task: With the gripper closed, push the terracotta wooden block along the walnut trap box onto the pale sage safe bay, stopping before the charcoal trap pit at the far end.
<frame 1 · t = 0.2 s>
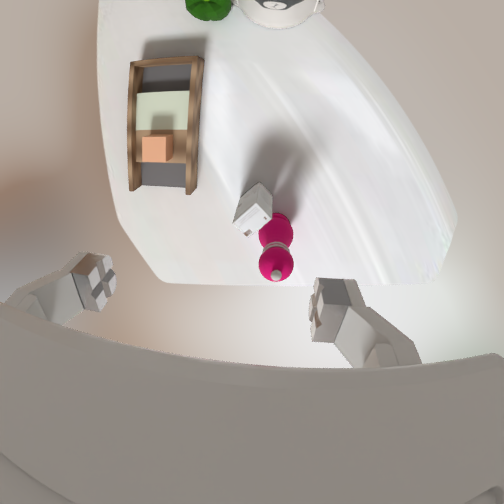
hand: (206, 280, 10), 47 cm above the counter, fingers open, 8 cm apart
pepper mill: (275, 225, 61), on the counter
trap box: (167, 123, 50), on the counter
block: (161, 146, 50), point 3 cm above the counter, touching trap box
skincare box: (256, 197, 58), on the counter
bell pepper: (215, 10, 37), on the counter
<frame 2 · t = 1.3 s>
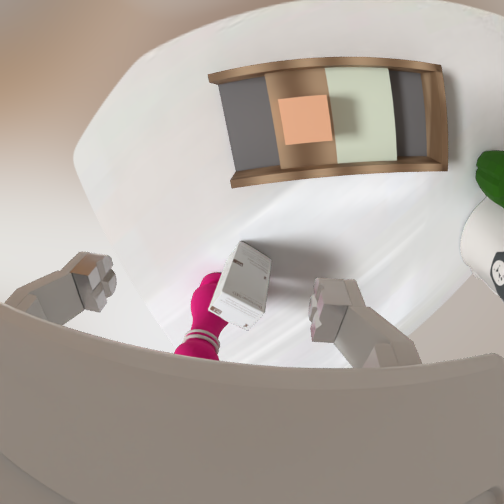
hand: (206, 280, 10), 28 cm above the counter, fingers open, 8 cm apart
pepper mill: (219, 286, 46), on the counter
trap box: (335, 114, 30), on the counter
block: (303, 117, 28), point 3 cm above the counter, touching trap box
skincare box: (248, 258, 43), on the counter
bell pepper: (484, 169, 30), on the counter
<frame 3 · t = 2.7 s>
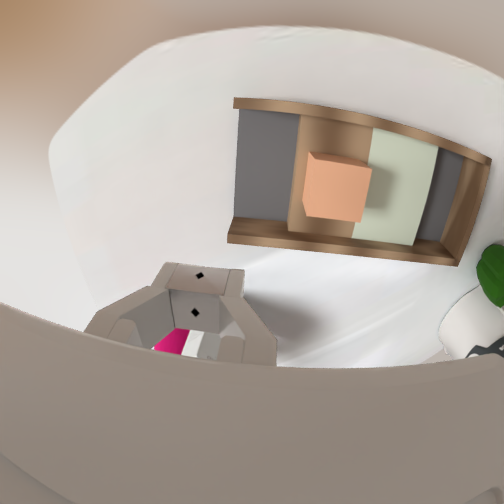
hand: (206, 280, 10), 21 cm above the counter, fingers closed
pepper mill: (186, 323, 41), on the counter
trap box: (363, 178, 28), on the counter
block: (330, 179, 25), point 3 cm above the counter, touching trap box
skincare box: (224, 305, 38), on the counter
bell pepper: (486, 259, 31), on the counter
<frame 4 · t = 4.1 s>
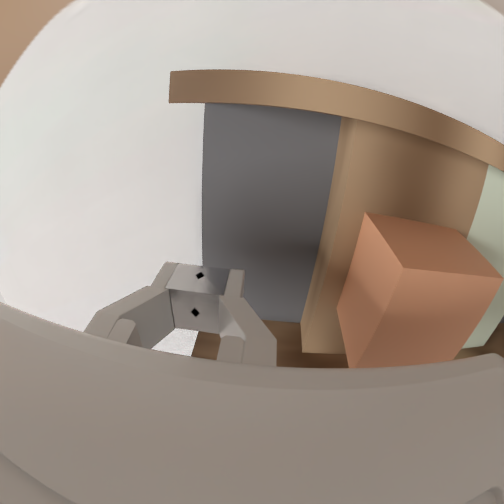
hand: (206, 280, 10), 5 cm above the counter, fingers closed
trap box: (439, 248, 14), on the counter
block: (398, 270, 11), point 3 cm above the counter, touching trap box
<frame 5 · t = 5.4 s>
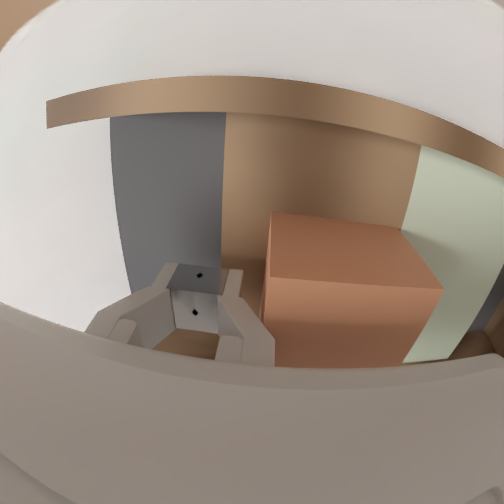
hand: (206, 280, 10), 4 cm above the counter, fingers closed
trap box: (381, 249, 13), on the counter
block: (325, 275, 11), point 3 cm above the counter, touching gripper, trap box
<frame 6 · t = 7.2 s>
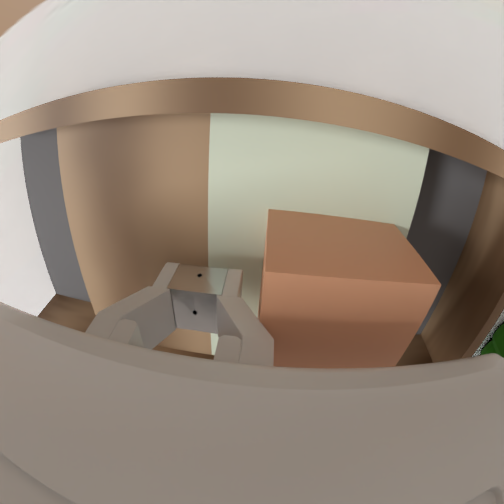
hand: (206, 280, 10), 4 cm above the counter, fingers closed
trap box: (240, 233, 14), on the counter
block: (323, 272, 11), point 3 cm above the counter, touching gripper, trap box
bell pepper: (499, 335, 17), on the counter
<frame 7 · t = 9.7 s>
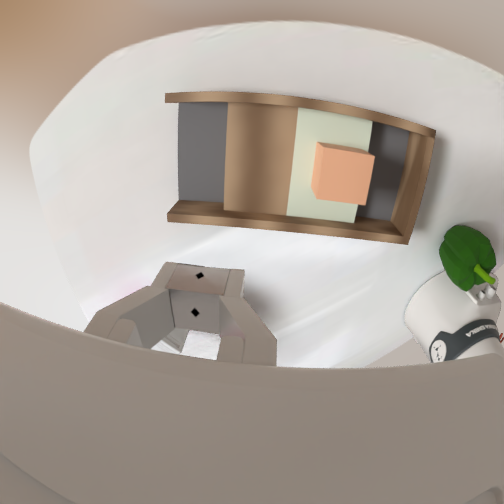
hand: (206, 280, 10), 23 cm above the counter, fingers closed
trap box: (299, 158, 30), on the counter
block: (336, 167, 27), point 3 cm above the counter, touching trap box
skincare box: (180, 285, 40), on the counter
bell pepper: (451, 241, 33), on the counter
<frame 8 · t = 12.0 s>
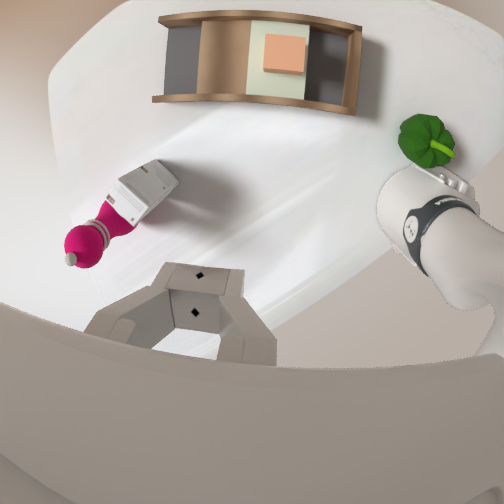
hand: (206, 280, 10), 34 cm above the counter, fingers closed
pepper mill: (132, 203, 46), on the counter
trap box: (257, 59, 33), on the counter
block: (283, 57, 30), point 3 cm above the counter, touching trap box
skincare box: (160, 178, 43), on the counter
bell pepper: (411, 137, 36), on the counter
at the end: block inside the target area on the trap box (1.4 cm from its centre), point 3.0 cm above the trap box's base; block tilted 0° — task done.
